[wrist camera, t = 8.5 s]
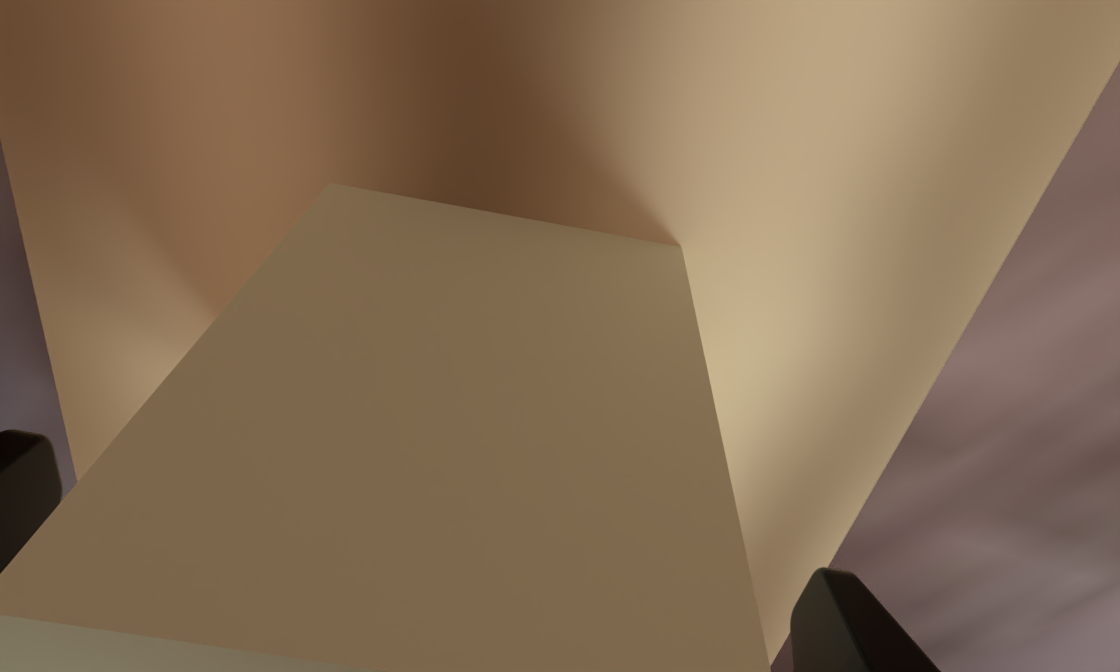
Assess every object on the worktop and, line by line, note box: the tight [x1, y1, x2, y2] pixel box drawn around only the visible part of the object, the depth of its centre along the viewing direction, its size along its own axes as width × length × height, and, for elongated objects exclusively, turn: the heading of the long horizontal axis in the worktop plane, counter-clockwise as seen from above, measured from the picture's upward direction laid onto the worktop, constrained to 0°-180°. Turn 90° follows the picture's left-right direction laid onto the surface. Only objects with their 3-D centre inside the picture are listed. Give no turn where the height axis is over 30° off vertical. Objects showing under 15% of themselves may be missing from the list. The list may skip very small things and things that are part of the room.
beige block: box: [0, 183, 771, 672], centre depth 9 cm, size 5×5×7 cm
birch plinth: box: [0, 0, 1120, 666], centre depth 13 cm, size 14×14×3 cm
